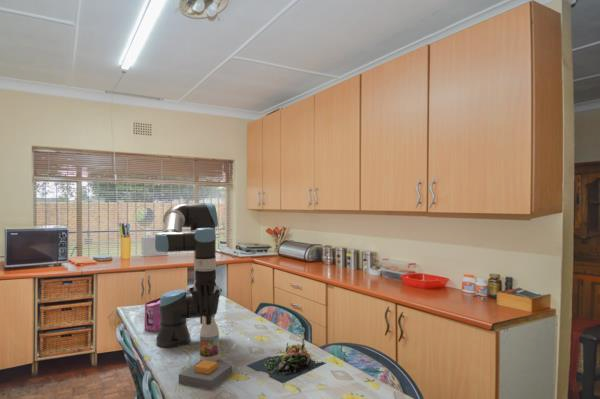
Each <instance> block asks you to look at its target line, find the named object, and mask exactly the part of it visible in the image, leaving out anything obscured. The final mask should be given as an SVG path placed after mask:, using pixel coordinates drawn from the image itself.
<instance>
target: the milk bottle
mask: <svg viewBox="0 0 600 399" xmlns="http://www.w3.org/2000/svg"><path fill="white" fill-rule="evenodd" d="M205 315H206V314H205ZM215 317H216V315H215V314H213V315H211V324H210V332H209V333H207V334H202V326H201V328H200V331H199V361H200V360H207V361H213V362H218V361H219V359H220V331H219V327H218V325H217V323H216V319H215Z"/></svg>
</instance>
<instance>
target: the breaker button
mask: <svg viewBox="0 0 600 399" xmlns="http://www.w3.org/2000/svg"><path fill="white" fill-rule="evenodd" d="M217 362H218V361H217ZM217 362H213V361H207V360H203V361H202V362H200V363H199V364H197V365H195V366H194V372H197V373H203V374H208V375H209V374H210V373H211V372H213V371H214V370H216V369H217Z"/></svg>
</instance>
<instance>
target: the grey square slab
mask: <svg viewBox="0 0 600 399" xmlns="http://www.w3.org/2000/svg"><path fill="white" fill-rule="evenodd" d="M202 361H203V360H200V359H199V361H197V362H196V363H194V364H193V365H191V366H190V367H188V368H186V369H185V370H183V371H182V372H180V373H178V383H179V384H183V383H184V385H188V384H189V386H193V385H194V387H198V386H199V388H203V387H204V388H203V389H208V390H212V389H213V388H215V387H216V386H218V385H219V384H221V382H222V381H224V380H225V379H226V378H228V377H229V376H230V375H231V374H233V364H229V363H223V362H218V361H217V369H216V370H214V371H213V372H211V373H210V374H209V375H208V374H203V373H197V372H194V366H195V365H197V364H199V363H200V362H202Z"/></svg>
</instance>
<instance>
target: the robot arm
mask: <svg viewBox="0 0 600 399" xmlns="http://www.w3.org/2000/svg"><path fill="white" fill-rule="evenodd" d="M162 223H163V229H162V231H161V232H157V233H156V234H155V238H154V245H155V246H154V247H155V248H154V249H155V252H158V253H172V252H173V253H174V252H175V253H177V252H193V286H191V287H189V291H190V292H187V291H186V289H175V290H170V291H167V292H164V293H163V294H162V295H161V296H160V297H159V298H160V329H159V330H158V332H157V336H156V339H155V344H156V345H157V346H158V347H160V348H176V347H181V346H184V345H186V344H188V343H190V342H191V333H190V332H189V328H188V324H187V319H197V318H199V319H200V325H201V327H202V334H207V333H209V332H210V324H211V315H213V314H215V316H216V315H217V313H218V309H219V300H220V295H221V293H222V292H223V289H222V288H219V287H218V286H217V283H216V279H217V270H216V268H217V261H216V260H217V259H216V248H217V247H216V246H217V244H216V239H217V236H216V235H217V234H216V228H217V227H219V221H218V212H217V207H216V205H215V204H214V203H205V202H204V203H202V202H201V203H200V202H199V203H196V202H195V203H194V202H193V203H179V204H176V205H173V206H171V208H169V209H167V211H166V212H165V213H164V215H163V219H162ZM183 228H190V231H183ZM205 314H206V315H205Z"/></svg>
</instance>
